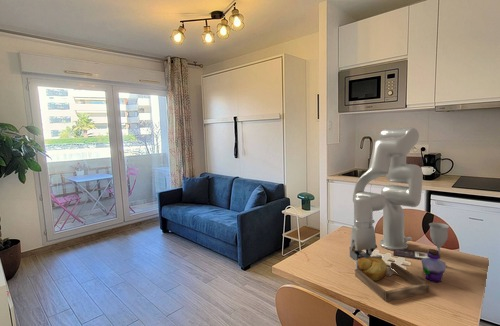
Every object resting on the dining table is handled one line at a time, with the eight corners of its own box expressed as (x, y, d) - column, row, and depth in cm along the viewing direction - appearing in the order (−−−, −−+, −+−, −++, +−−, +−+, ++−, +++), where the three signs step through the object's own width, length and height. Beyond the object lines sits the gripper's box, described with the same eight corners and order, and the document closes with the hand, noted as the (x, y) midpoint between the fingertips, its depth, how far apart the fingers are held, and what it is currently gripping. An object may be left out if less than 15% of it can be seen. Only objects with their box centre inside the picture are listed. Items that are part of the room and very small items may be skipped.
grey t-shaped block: (363, 254, 133) (363, 244, 133) (381, 266, 120) (381, 255, 120) (341, 258, 131) (341, 248, 130) (357, 271, 118) (357, 260, 117)
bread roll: (373, 265, 122) (373, 248, 121) (394, 274, 114) (395, 256, 113) (355, 275, 115) (354, 257, 114) (376, 285, 107) (376, 266, 106)
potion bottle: (416, 278, 110) (417, 250, 108) (425, 271, 115) (425, 243, 114) (441, 287, 103) (442, 257, 102) (449, 279, 108) (450, 250, 107)
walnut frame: (393, 268, 118) (393, 262, 118) (429, 292, 101) (429, 284, 100) (355, 276, 114) (355, 269, 114) (385, 301, 97) (385, 293, 96)
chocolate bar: (393, 247, 138) (437, 253, 129) (393, 249, 138) (437, 255, 129) (393, 254, 130) (439, 261, 121) (393, 256, 130) (439, 263, 121)
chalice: (449, 264, 119) (450, 224, 117) (447, 271, 114) (448, 229, 112) (429, 260, 124) (430, 221, 122) (426, 265, 119) (427, 225, 117)
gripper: (374, 219, 126) (374, 257, 128) (342, 223, 123) (342, 262, 125) (385, 224, 119) (385, 264, 121) (351, 229, 116) (352, 270, 118)
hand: (363, 262), depth 123 cm, fingers closed on grey t-shaped block, 3 cm apart
